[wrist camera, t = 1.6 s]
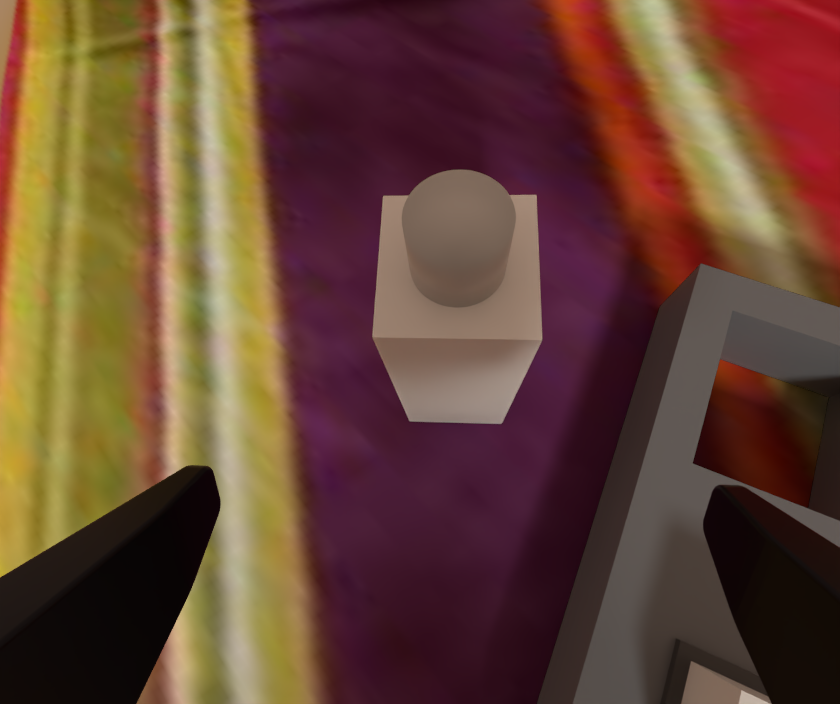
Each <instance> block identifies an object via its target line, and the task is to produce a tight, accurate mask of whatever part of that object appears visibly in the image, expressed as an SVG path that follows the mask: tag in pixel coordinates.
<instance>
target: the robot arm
mask: <svg viewBox="0 0 840 704" xmlns="http://www.w3.org/2000/svg"><path fill="white" fill-rule="evenodd" d="M219 511H220V496H219V492H218V488H217V484H216V480H215V476H214V473H213V470H212V469H211V468H210V467H208V466H198V465H190V466H186V467H184V468H182V469H181V470H179V471H177V472H176V473H174V474H172V475H171V476H169V477H167V478H166V479H164V480H162V481H161V482H159V483H157V484H156V485H154V486H152V487H151V488H149V489H147V490H146V491H144V492H142V493H141V494H139V495H137V496H136V497H134V498H132V499H131V500H129V501H127V502H126V503H124V504H122V505H121V506H119V507H117V508H116V509H114V510H112V511H111V512H109V513H107V514H106V515H104V516H102V517H101V518H99V519H97V520H96V521H94V522H92V523H91V524H89V525H87V526H86V527H84V528H82V529H81V530H79V531H77V532H76V533H74V534H72V535H71V536H69V537H67V538H66V539H64V540H62V541H61V542H59V543H57V544H56V545H54V546H52V547H51V548H49V549H47V550H46V551H44V552H42V553H41V554H39V555H37V556H36V557H34V558H32V559H30V560H29V561H27V562H25V563H24V564H22V565H20V566H19V567H17V568H15V569H14V570H12V571H10V572H9V573H7V574H5V575H4V576H2V577H0V704H136V703H137V701H138V699H139V697H140V695H141V693H142V691H143V689H144V687H145V685H146V682H147V680H148V678H149V676H150V674H151V672H152V670H153V668H154V666H155V664H156V662H157V660H158V658H159V656H160V653H161V651H162V649H163V647H164V645H165V643H166V641H167V639H168V637H169V635H170V633H171V631H172V629H173V627H174V624H175V622H176V620H177V618H178V616H179V614H180V612H181V610H182V608H183V606H184V604H185V602H186V599H187V597H188V595H189V593H190V591H191V588H192V586H193V583H194V581H195V578H196V575H197V573H198V570H199V567H200V564H201V561H202V559H203V556H204V553H205V550H206V548H207V545H208V542H209V539H210V537H211V534H212V531H213V528H214V526H215V523H216V520H217V517H218V514H219ZM703 530H704V535H705V538H706V541H707V544H708V547H709V550H710V553H711V556H712V559H713V562H714V564H715V567H716V570H717V573H718V576H719V579H720V582H721V585H722V588H723V591H724V594H725V597H726V600H727V603H728V606H729V609H730V611H731V614H732V617H733V619H734V622H735V624H736V626H737V629H738V631H739V633H740V636H741V638H742V640H743V642H744V644H745V647H746V649H747V651H748V653H749V655H750V658H751V660H752V662H753V664H754V666H755V668H756V671H757V673H758V675H759V677H760V679H761V682H762V684H763V686H764V688H765V690H766V693H767V695H768V697H769V699H770V701H771V703H772V704H840V547H838V546H837V545H835V544H834V543H832V542H831V541H829V540H827V539H826V538H824V537H823V536H821V535H820V534H818V533H816V532H815V531H813V530H812V529H810V528H809V527H807V526H805V525H804V524H802V523H801V522H799V521H798V520H796V519H794V518H793V517H791V516H790V515H788V514H787V513H785V512H783V511H782V510H780V509H779V508H777V507H776V506H774V505H772V504H771V503H769V502H768V501H766V500H765V499H763V498H762V497H760V496H758V495H757V494H755V493H754V492H752V491H751V490H749V489H747V488H746V487H744V486H740V485H717V486H715V488H714V489H713V491H712V493H711V497H710V500H709V503H708V506H707V509H706V512H705V516H704V519H703Z"/></svg>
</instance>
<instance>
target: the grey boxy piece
mask: <svg viewBox="0 0 840 704" xmlns="http://www.w3.org/2000/svg"><path fill="white" fill-rule="evenodd" d="M720 359H721V360H724V361H727V362H730V363H733V364H736V365H739V366H742V367H744V368H747V369H750V370H753V371H756V372H759V373H762V374H764V375H767V376H770V377H773V378H776V379H779V380H782V381H784V382H787V383H790V384H793V385H796V386H799V387H802V388H805V389H807V390H810V391H813V392H816V393H819V394H822V395H825V396H827V397H829V401H828V406H827V411H826V417H825V422H824V427H823V432H822V438H821V443H820V448H819V454H818V459H817V464H816V469H815V475H814V480H813V485H812V491H811V496H810V501H809V507H808V508H805V507H803V506H800V505H798V504H795V503H793V502H790V501H787V500H785V499H782V498H780V497H777V496H775V495H772V494H770V493H767V492H764V491H762V490H759V489H757V488H754V487H752V486H749V485H746V484H744V483H741V482H739V481H736V480H734V479H731V478H729V477H726V476H723V475H721V474H718V473H716V472H713V471H711V470H708V469H706V468H703V467H700V466H698V465H695V464H693V460H694V456H695V452H696V449H697V445H698V441H699V437H700V433H701V429H702V426H703V422H704V418H705V414H706V410H707V407H708V403H709V399H710V395H711V391H712V387H713V384H714V380H715V376H716V372H717V368H718V365H719V361H720ZM717 485H740V486H744V487H746V488H747V489H749V490H751V491H752V492H754V493H755V494H757V495H758V496H760V497H762V498H763V499H765V500H766V501H768V502H769V503H771V504H772V505H774V506H776V507H777V508H779V509H780V510H782V511H783V512H785V513H787V514H788V515H790V516H791V517H793V518H794V519H796V520H798V521H799V522H801V523H802V524H804V525H805V526H807V527H809V528H810V529H812V530H813V531H815V532H816V533H818V534H820V535H821V536H823V537H824V538H826V539H827V540H829V541H831V542H832V543H834V544H835V545H837V546H838V547H840V307H837V306H833V305H830V304H827V303H824V302H821V301H818V300H815V299H811V298H808V297H805V296H802V295H799V294H796V293H792V292H789V291H786V290H783V289H780V288H777V287H774V286H770V285H767V284H764V283H761V282H758V281H755V280H751V279H748V278H745V277H742V276H739V275H736V274H733V273H729V272H726V271H723V270H720V269H717V268H714V267H710V266H707V265H704V264H700V265H699V266H698V267H697V268H696V269H695V270H694V271H693V272H692V273H691V274H690V275H689V276H688V277H687V279H686V280H685V281H684V282H683V283H682V284H681V285H680V286H679V287H678V288H677V289H676V290H675V291H674V292H673V293H672V294H671V295H670V296H669V297H668V298H667V299H666V300H665V302H664V303H663V304H662V305H661V306H660V307H659V311H658V314H657V317H656V320H655V324H654V327H653V330H652V333H651V336H650V340H649V343H648V346H647V349H646V353H645V356H644V359H643V362H642V366H641V369H640V372H639V375H638V378H637V382H636V385H635V388H634V391H633V395H632V398H631V401H630V404H629V408H628V411H627V414H626V417H625V420H624V424H623V427H622V430H621V433H620V437H619V440H618V443H617V446H616V450H615V453H614V456H613V459H612V462H611V466H610V469H609V472H608V475H607V479H606V482H605V485H604V488H603V492H602V495H601V498H600V501H599V504H598V508H597V511H596V514H595V517H594V521H593V524H592V527H591V530H590V534H589V537H588V540H587V543H586V546H585V550H584V553H583V556H582V559H581V563H580V566H579V569H578V572H577V575H576V579H575V582H574V585H573V588H572V592H571V595H570V598H569V601H568V605H567V608H566V611H565V614H564V617H563V621H562V624H561V627H560V630H559V634H558V637H557V640H556V643H555V647H554V650H553V653H552V656H551V659H550V663H549V666H548V669H547V672H546V676H545V679H544V682H543V685H542V689H541V692H540V695H539V698H538V701H537V704H772V703H771V701H770V699H769V697H768V695H767V693H766V690H765V688H764V686H763V684H762V682H761V679H760V677H759V675H758V673H757V671H756V668H755V666H754V664H753V662H752V660H751V658H750V655H749V653H748V651H747V649H746V647H745V644H744V642H743V640H742V638H741V636H740V633H739V631H738V629H737V626H736V624H735V622H734V619H733V617H732V614H731V611H730V609H729V606H728V603H727V600H726V597H725V594H724V591H723V588H722V585H721V582H720V579H719V576H718V573H717V570H716V567H715V564H714V562H713V559H712V556H711V553H710V550H709V547H708V544H707V541H706V538H705V535H704V530H703V519H704V516H705V512H706V509H707V506H708V503H709V500H710V497H711V493H712V491H713V489H714V488H715V486H717Z"/></svg>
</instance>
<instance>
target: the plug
mask: <svg viewBox="0 0 840 704" xmlns="http://www.w3.org/2000/svg"><path fill="white" fill-rule="evenodd" d="M372 338H373V340H374V342H375V345H376V347H377V349H378V351H379V354H380V356H381V358H382V360H383V363H384V365H385V367H386V369H387V372H388V374H389V376H390V378H391V381H392V383H393V385H394V387H395V390H396V392H397V394H398V396H399V399H400V401H401V403H402V406H403V408H404V410H405V412H406V415H407V417H408V419H409V421H413V422H448V423H483V424H502V422H503V420H504V418H505V416H506V414H507V412H508V410H509V408H510V406H511V404H512V402H513V400H514V397H515V395H516V393H517V391H518V389H519V387H520V385H521V383H522V381H523V379H524V377H525V375H526V373H527V371H528V369H529V367H530V364H531V362H532V360H533V358H534V356H535V354H536V352H537V350H538V348H539V346H540V344H541V342H542V319H541V295H540V270H539V245H538V220H537V196H536V195H509V194H508V192H507V191H506V190H505V189H504V187H503V186H502V185H500V184H499V183H498V182H497V181H495V180H494V179H493V178H491V177H489V176H487V175H485V174H482V173H479V172H476V171H471V170H449V171H444V172H440V173H437V174H435V175H432V176H430V177H429V178H427V179H425V180H424V181H422V182H421V183H420V184H418V185H417V186H416V187H415V188H414V189H413V191H412V192H411V193H410V195H409V196H383V205H382V218H381V231H380V244H379V257H378V270H377V283H376V296H375V309H374V322H373V335H372Z"/></svg>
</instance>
